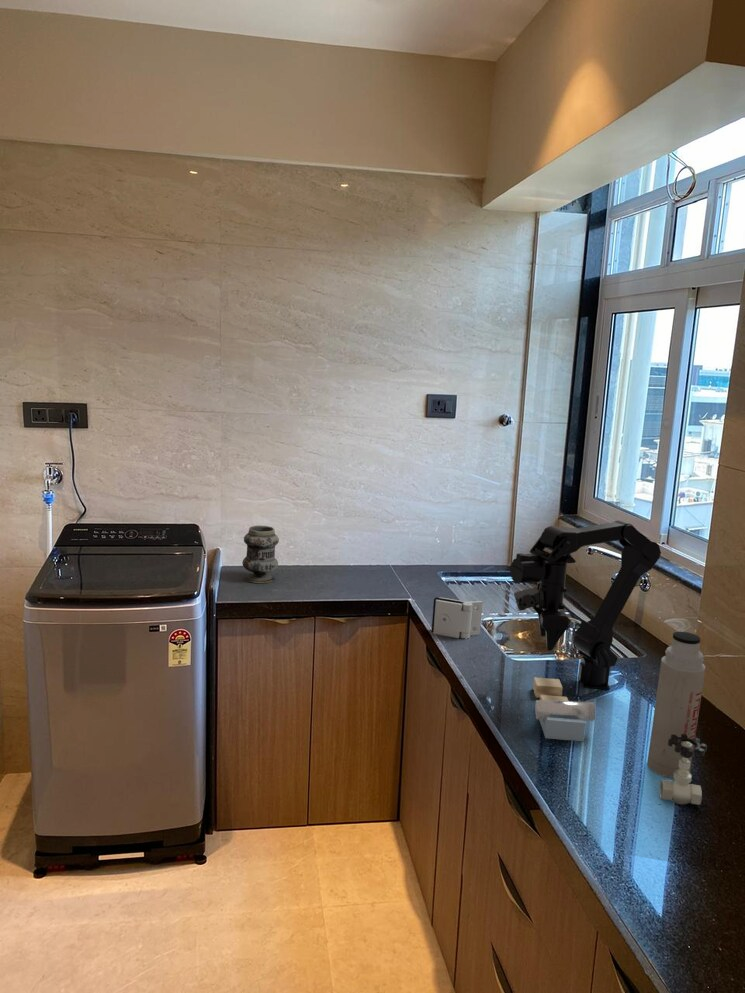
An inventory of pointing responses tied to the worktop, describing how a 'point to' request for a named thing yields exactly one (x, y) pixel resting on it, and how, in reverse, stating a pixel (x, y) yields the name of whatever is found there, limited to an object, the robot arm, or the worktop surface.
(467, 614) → the hinge
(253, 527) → the apothecary jar
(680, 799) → the valve
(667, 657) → the thermos bottle
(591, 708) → the light grey bar
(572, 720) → the v block
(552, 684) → the beam
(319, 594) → the worktop surface
